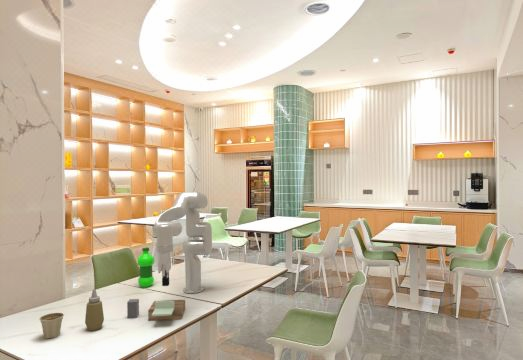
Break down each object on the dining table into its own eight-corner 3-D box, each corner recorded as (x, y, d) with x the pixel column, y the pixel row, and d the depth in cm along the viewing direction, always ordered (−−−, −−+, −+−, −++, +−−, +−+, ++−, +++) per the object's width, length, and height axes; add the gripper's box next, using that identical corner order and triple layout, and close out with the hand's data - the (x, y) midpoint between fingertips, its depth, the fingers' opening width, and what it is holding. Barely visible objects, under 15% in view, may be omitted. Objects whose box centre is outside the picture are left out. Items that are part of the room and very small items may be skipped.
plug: (130, 314, 180) (129, 299, 180) (139, 314, 180) (138, 298, 180) (127, 318, 175) (127, 302, 175) (136, 317, 176) (136, 301, 176)
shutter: (155, 309, 173) (155, 301, 173) (174, 308, 173) (174, 300, 173) (151, 316, 164) (151, 308, 164) (171, 315, 164) (171, 307, 164)
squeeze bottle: (83, 333, 159) (82, 293, 159) (87, 326, 166) (86, 287, 167) (102, 330, 161) (102, 291, 161) (105, 323, 169) (105, 286, 169)
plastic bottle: (156, 284, 235) (156, 246, 235) (150, 288, 224) (149, 249, 225) (142, 283, 236) (141, 246, 236) (135, 288, 225) (134, 249, 226)
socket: (154, 310, 186) (154, 300, 186) (185, 308, 187) (185, 299, 187) (148, 320, 172) (148, 310, 172) (181, 319, 173) (181, 308, 173)
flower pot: (68, 331, 161) (68, 312, 161) (57, 340, 152) (56, 320, 152) (47, 331, 161) (47, 312, 161) (34, 340, 151) (34, 320, 151)
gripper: (160, 246, 182) (161, 281, 182) (154, 252, 167) (154, 290, 168) (175, 245, 183) (175, 280, 183) (170, 251, 168) (170, 290, 168)
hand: (165, 285), depth 175 cm, fingers closed
